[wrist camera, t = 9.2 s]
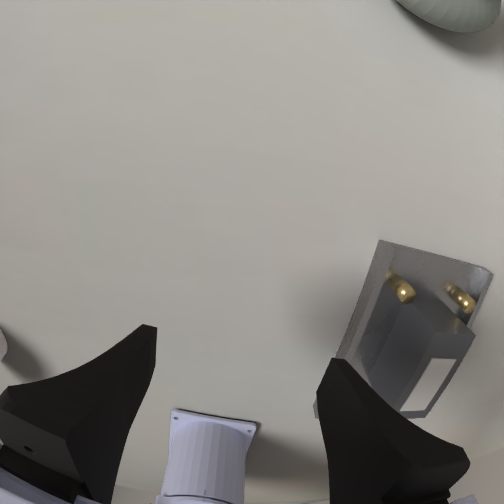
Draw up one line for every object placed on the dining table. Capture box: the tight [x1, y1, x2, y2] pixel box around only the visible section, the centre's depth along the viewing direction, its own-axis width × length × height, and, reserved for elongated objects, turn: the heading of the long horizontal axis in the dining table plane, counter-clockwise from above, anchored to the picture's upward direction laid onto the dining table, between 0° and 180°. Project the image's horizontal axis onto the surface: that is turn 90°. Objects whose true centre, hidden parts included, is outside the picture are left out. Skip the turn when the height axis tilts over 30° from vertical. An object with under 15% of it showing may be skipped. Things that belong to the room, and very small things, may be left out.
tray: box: [313, 240, 494, 419], centre depth 22 cm, size 16×11×3 cm
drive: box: [368, 298, 476, 419], centre depth 21 cm, size 8×4×5 cm, turn 168°
